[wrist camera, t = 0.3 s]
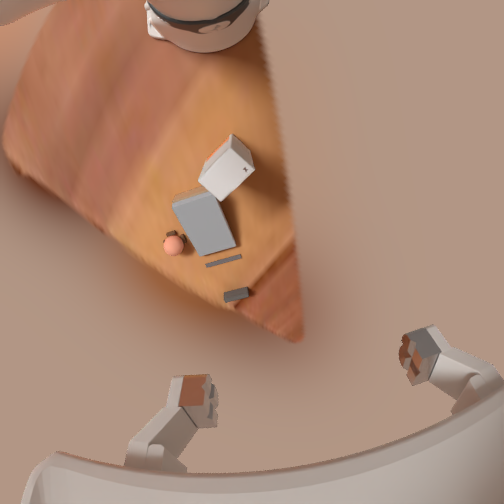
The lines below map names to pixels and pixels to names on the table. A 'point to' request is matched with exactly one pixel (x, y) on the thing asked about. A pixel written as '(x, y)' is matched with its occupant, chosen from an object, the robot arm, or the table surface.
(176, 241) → the ball
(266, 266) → the table surface
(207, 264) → the line
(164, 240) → the stand
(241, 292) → the rail
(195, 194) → the ramp
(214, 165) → the skincare box
